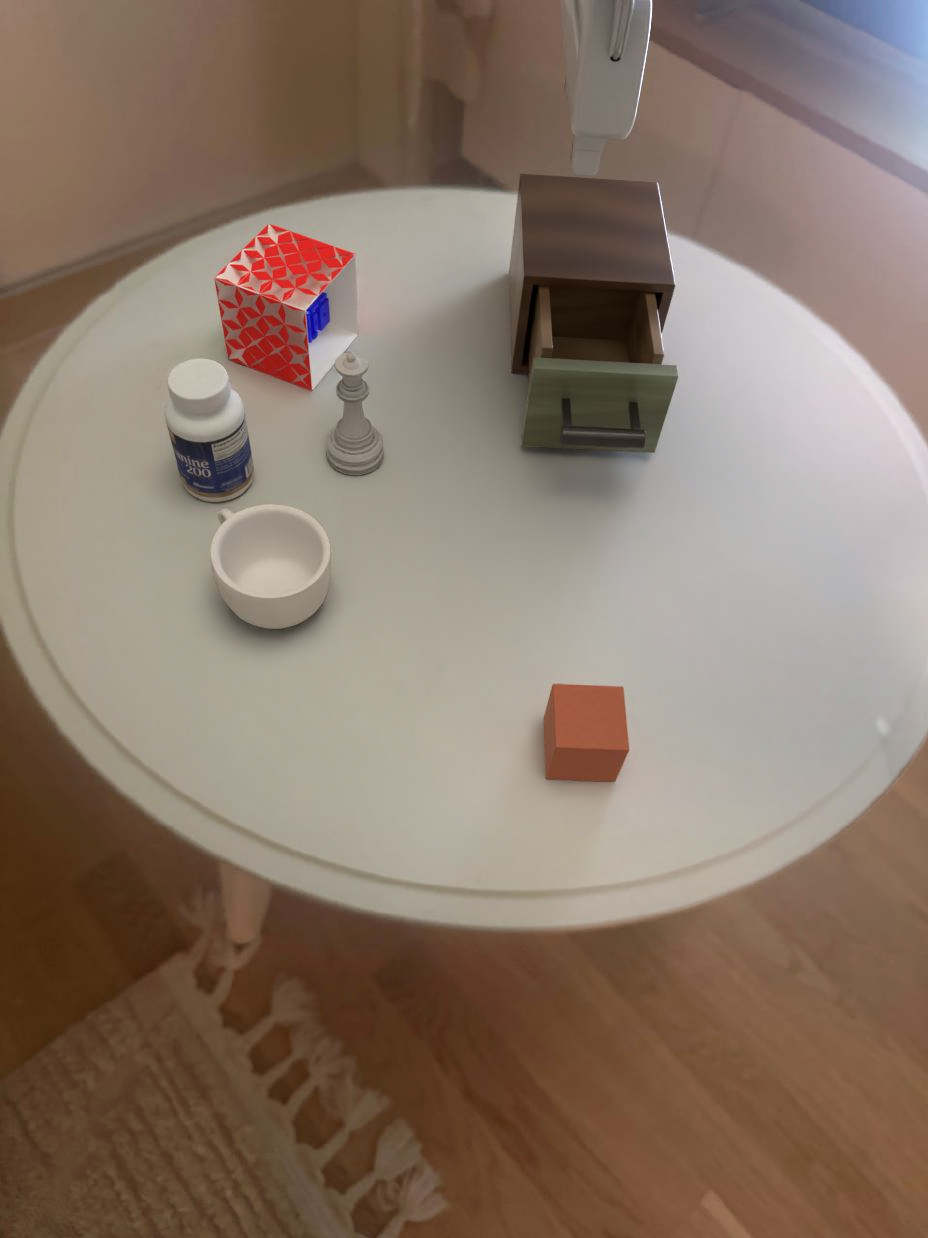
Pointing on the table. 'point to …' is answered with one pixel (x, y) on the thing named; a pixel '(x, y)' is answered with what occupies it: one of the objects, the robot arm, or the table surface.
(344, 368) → the chess piece
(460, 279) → the table surface
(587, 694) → the block
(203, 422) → the pill bottle
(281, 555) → the teacup
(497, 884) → the table surface
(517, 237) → the cabinet
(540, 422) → the drawer
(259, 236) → the red patterned box
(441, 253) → the table surface
